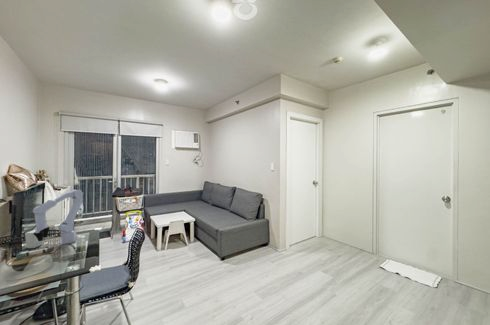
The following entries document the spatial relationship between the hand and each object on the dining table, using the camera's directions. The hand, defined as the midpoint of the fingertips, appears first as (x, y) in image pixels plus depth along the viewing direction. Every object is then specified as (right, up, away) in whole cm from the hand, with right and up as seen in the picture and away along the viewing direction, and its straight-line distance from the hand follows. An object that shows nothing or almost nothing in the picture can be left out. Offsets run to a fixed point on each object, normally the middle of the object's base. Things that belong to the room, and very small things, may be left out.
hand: (43, 239), depth 155 cm
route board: (+2, -9, -6) cm, 11 cm away
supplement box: (-16, -10, +9) cm, 21 cm away
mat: (-2, -9, +2) cm, 10 cm away
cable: (+2, -9, -6) cm, 10 cm away
